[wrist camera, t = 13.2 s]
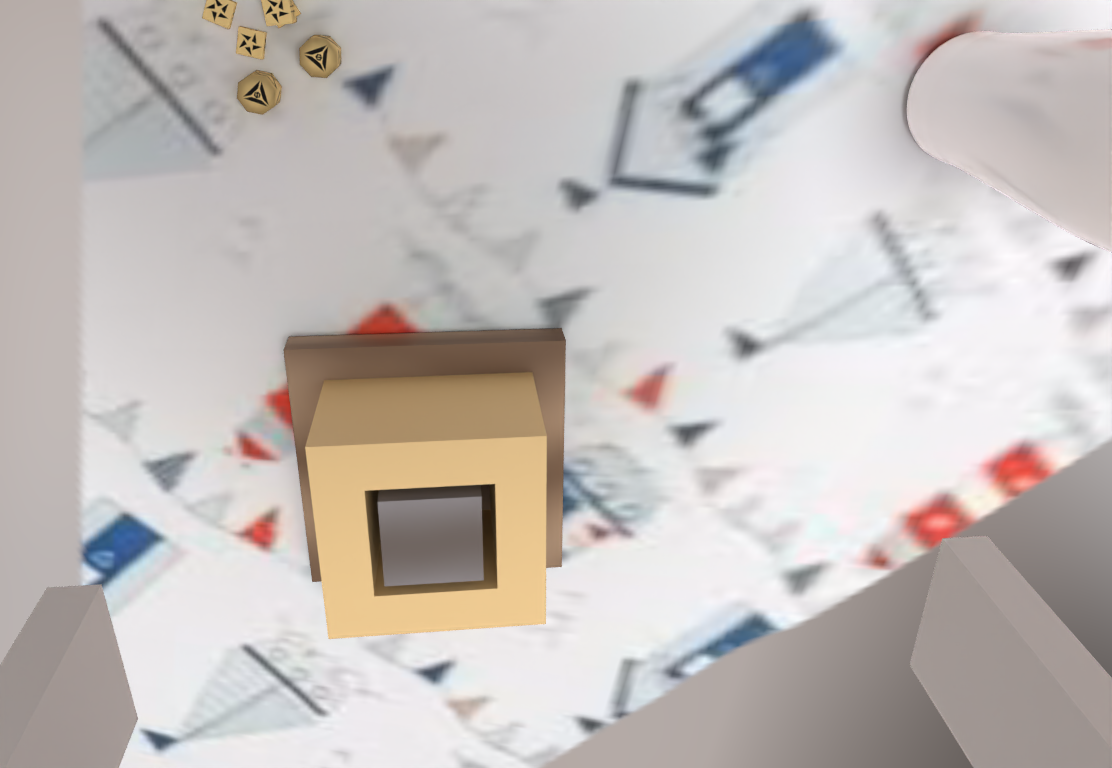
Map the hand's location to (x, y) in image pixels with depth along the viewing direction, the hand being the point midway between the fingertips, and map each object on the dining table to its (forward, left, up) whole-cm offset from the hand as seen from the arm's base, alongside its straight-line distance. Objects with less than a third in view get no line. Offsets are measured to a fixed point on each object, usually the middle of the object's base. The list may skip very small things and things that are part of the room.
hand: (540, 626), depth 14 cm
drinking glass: (-5, +21, -26) cm, 34 cm away
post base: (+11, -2, -26) cm, 29 cm away
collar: (+11, -2, -25) cm, 27 cm away
